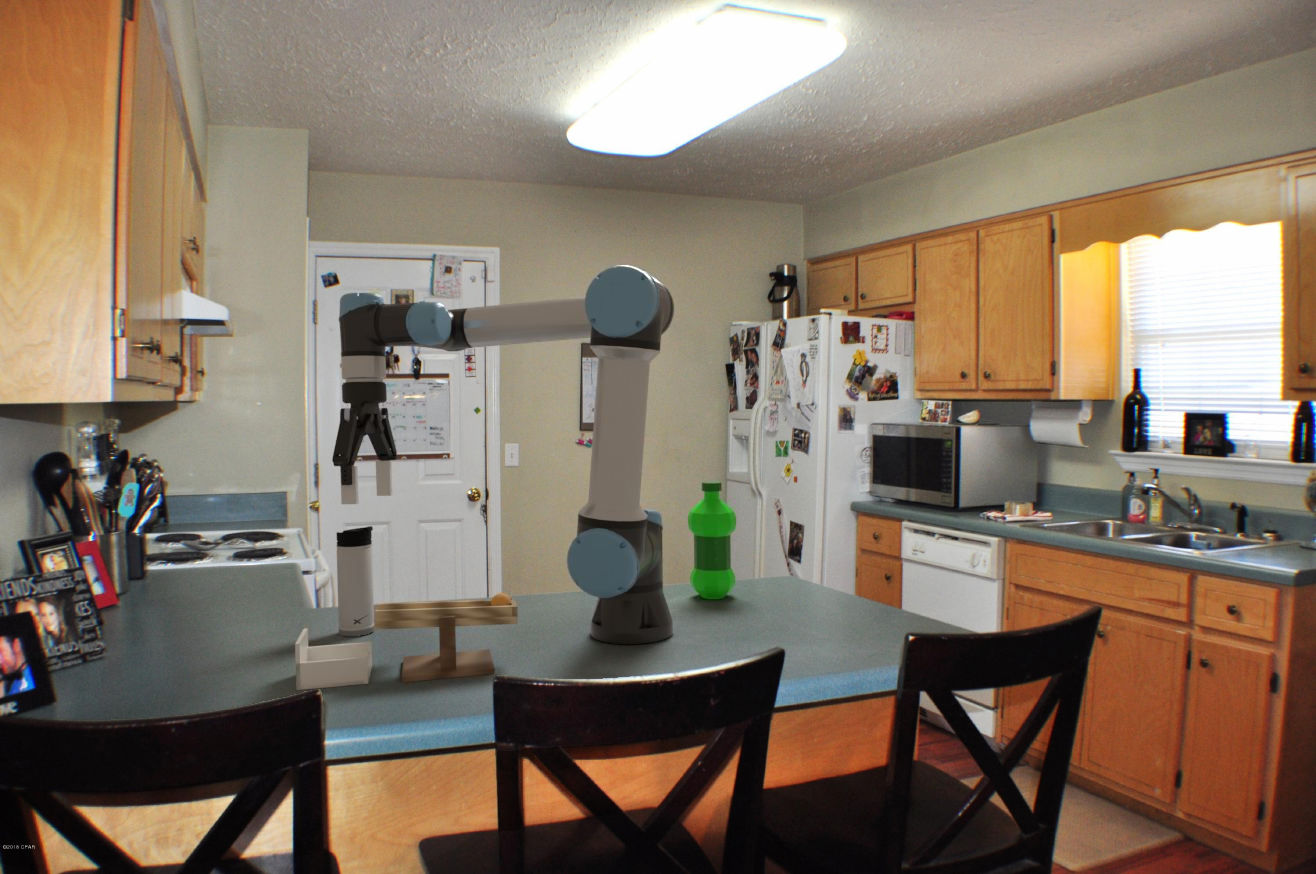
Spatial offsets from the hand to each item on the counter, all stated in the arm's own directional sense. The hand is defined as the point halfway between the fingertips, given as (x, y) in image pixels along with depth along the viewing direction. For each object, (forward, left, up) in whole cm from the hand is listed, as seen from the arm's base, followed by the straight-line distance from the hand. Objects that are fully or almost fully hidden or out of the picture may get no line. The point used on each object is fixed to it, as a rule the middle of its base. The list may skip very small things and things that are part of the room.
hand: (368, 499), depth 153 cm
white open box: (-7, +19, -26) cm, 33 cm away
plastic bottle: (-51, -50, -26) cm, 76 cm away
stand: (-22, +10, -26) cm, 35 cm away
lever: (-20, +7, -18) cm, 28 cm away
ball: (-29, +5, -16) cm, 33 cm away
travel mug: (+6, -4, -26) cm, 27 cm away
